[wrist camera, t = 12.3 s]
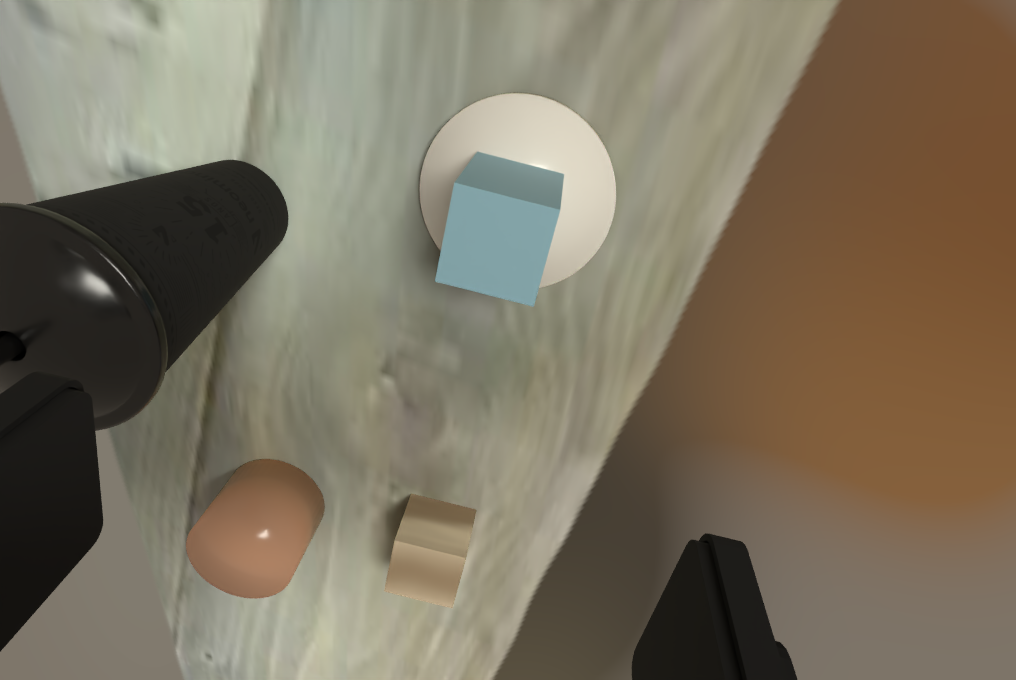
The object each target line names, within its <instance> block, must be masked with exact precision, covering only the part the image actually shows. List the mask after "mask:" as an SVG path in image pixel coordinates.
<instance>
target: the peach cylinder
mask: <svg viewBox="0 0 1016 680" xmlns="http://www.w3.org/2000/svg"><path fill="white" fill-rule="evenodd" d="M324 509H325V505H324V499H323V495H322V493H321V491H320V489H319V488H318V486H317V485H316V483H315V482H314V481H313V480H312V479H311V478H310V477H309V476H308V475H307V474H306V473H305V472H303V471H302V470H300V469H299V468H297V467H295V466H293V465H291V464H288V463H286V462H282V461H278V460H272V459H259V460H254V461H250V462H248V463H245V464H244V465H242V466H240V467H239V468H238V469H237V470H236V471H235V472H234V474H233V475H232V476H231V478H230V479H229V480H228V482H227V483H226V484H225V486H224V487H223V488H222V490H221V491H220V492H219V494H218V495H217V496H216V498H215V499H214V500H213V502H212V503H211V504H210V506H209V507H208V508H207V510H206V511H205V512H204V514H203V515H202V516H201V517H200V519H199V520H198V521H197V523H196V524H195V525H194V527H193V528H192V529H191V531H190V533H189V535H188V537H187V542H186V549H187V554H188V557H189V560H190V562H191V564H192V565H193V567H194V568H195V570H196V571H197V572H198V573H199V574H200V575H201V577H203V578H204V579H205V580H206V581H207V582H209V583H210V584H211V585H213V586H215V587H216V588H218V589H220V590H222V591H224V592H226V593H229V594H232V595H235V596H239V597H244V598H264V597H269V596H272V595H275V594H277V593H279V592H280V591H282V590H283V589H284V588H285V587H286V586H287V585H288V584H289V582H290V580H291V578H292V576H293V575H294V573H295V571H296V569H297V567H298V565H299V563H300V561H301V559H302V557H303V555H304V553H305V551H306V549H307V547H308V545H309V543H310V541H311V539H312V537H313V536H314V534H315V532H316V530H317V528H318V526H319V524H320V522H321V520H322V518H323V515H324Z"/></svg>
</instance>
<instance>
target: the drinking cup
mask: <svg viewBox="0 0 1016 680" xmlns="http://www.w3.org/2000/svg"><path fill="white" fill-rule="evenodd" d="M287 226H288V211H287V206H286V202H285V200H284V197H283V195H282V193H281V191H280V190H279V188H278V186H277V185H276V184H275V183H274V181H273V180H272V179H271V178H270V177H269V176H268V175H267V174H265V173H264V172H263V171H261V170H260V169H258V168H257V167H255V166H253V165H251V164H248V163H245V162H242V161H237V160H223V161H218V162H214V163H209V164H205V165H201V166H196V167H192V168H187V169H183V170H178V171H174V172H169V173H165V174H161V175H156V176H152V177H147V178H143V179H138V180H134V181H129V182H125V183H121V184H116V185H112V186H107V187H103V188H98V189H94V190H89V191H85V192H81V193H76V194H72V195H67V196H63V197H58V198H54V199H49V200H45V201H41V202H36V203H32V204H27V205H23V204H15V203H0V394H1V393H2V392H4V391H5V390H7V389H8V388H10V387H11V386H12V385H14V384H15V383H17V382H18V381H20V380H21V379H22V378H24V377H25V376H27V375H29V374H31V373H33V372H37V371H41V372H45V373H49V374H54V375H58V376H62V377H66V378H70V379H74V380H77V381H79V382H80V383H81V384H82V385H83V389H84V392H86V393H89V394H90V396H91V397H92V401H93V413H94V424H95V431H96V430H102V429H107V428H110V427H113V426H117V425H119V424H121V423H124V422H126V421H128V420H129V419H131V418H133V417H134V416H135V415H136V414H138V413H139V412H140V411H141V410H143V409H144V408H145V407H146V406H147V405H148V404H149V403H150V402H151V400H152V399H153V398H154V396H155V395H156V393H157V392H158V390H159V388H160V386H161V384H162V381H163V379H164V375H165V372H166V371H167V370H168V369H169V368H170V367H171V365H172V364H173V363H174V362H175V361H176V360H177V359H178V358H179V356H180V355H181V354H182V353H183V352H184V351H185V350H186V349H187V347H188V346H189V345H190V344H191V343H192V342H193V341H194V340H195V338H196V337H197V336H198V335H199V334H200V333H201V332H202V331H203V329H204V328H205V327H206V326H207V325H208V324H209V323H210V322H211V320H212V319H213V318H214V317H215V316H216V315H217V314H218V313H219V311H220V310H221V309H222V308H223V307H224V306H225V305H226V304H227V302H228V301H229V300H230V299H231V298H232V297H233V296H234V295H235V293H236V292H237V291H238V290H239V289H240V288H241V287H242V286H243V284H244V283H245V282H246V281H247V280H248V279H249V278H250V276H251V275H252V274H253V273H254V272H255V271H256V270H257V269H258V267H259V266H260V265H261V264H262V263H263V262H264V261H265V260H266V258H267V257H268V256H269V255H270V254H271V253H272V252H273V251H274V249H275V248H276V247H277V246H278V245H279V244H280V242H281V241H282V240H283V238H284V236H285V233H286V230H287Z"/></svg>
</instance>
